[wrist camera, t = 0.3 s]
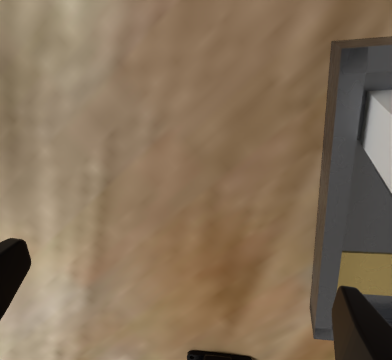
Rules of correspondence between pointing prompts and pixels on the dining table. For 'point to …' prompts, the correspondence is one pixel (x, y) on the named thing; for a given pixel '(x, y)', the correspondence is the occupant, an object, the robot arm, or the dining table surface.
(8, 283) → the robot arm
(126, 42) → the dining table surface
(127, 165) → the dining table surface
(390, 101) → the block
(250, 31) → the dining table surface
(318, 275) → the grey rectangular tray
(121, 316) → the dining table surface
